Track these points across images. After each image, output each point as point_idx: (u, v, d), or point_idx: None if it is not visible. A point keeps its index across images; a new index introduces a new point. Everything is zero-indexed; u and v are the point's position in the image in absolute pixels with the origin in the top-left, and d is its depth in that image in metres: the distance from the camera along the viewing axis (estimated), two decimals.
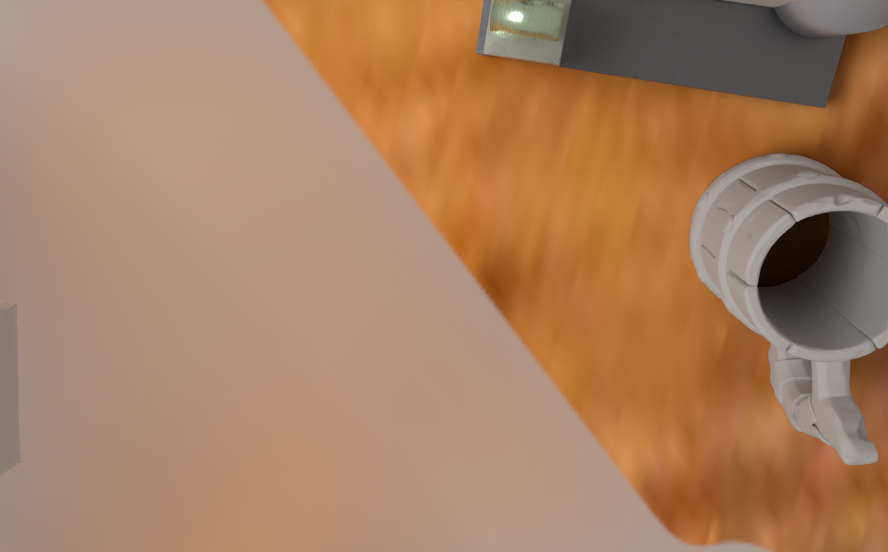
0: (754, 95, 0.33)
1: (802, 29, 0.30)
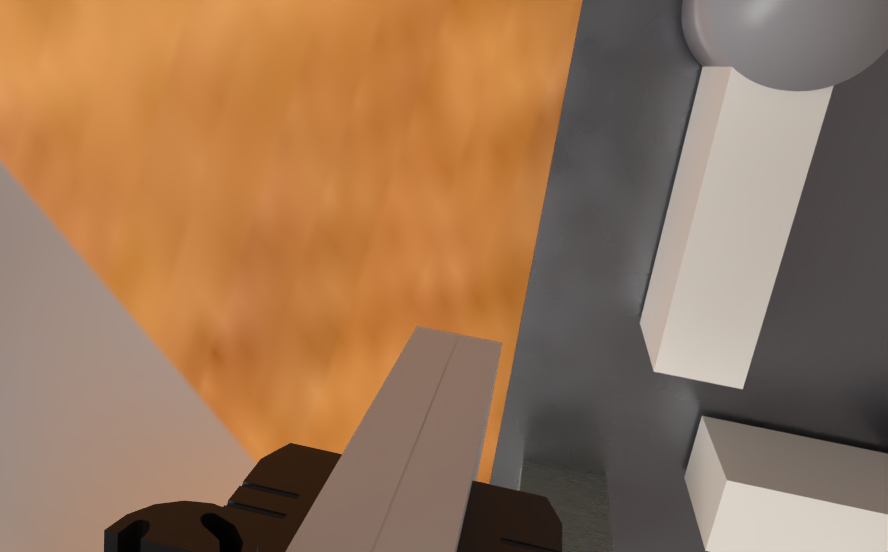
0: None
1: None
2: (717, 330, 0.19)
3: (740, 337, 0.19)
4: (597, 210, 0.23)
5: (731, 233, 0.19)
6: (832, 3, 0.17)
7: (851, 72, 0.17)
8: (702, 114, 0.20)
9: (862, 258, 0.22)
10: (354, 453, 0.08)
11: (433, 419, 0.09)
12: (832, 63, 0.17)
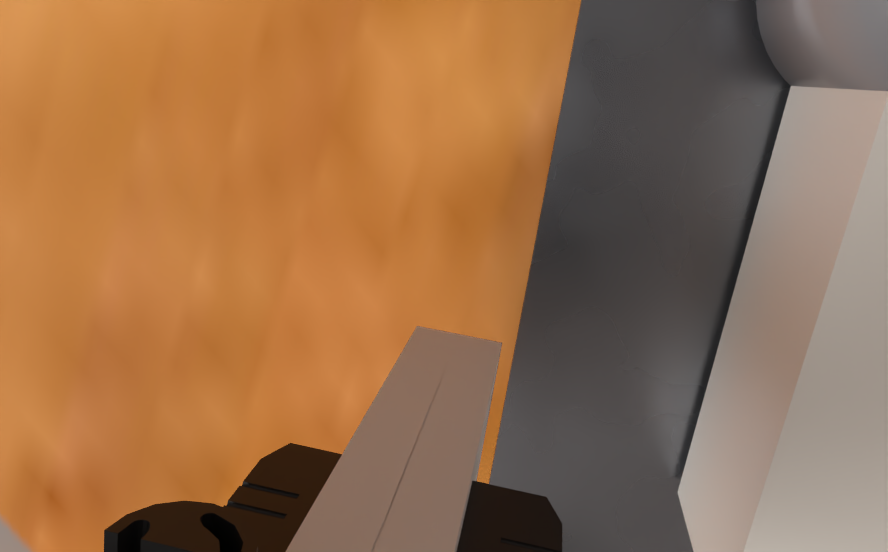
0: None
1: None
2: None
3: None
4: (610, 316, 0.14)
5: (872, 407, 0.10)
6: None
7: None
8: (801, 172, 0.11)
9: None
10: (354, 453, 0.08)
11: (433, 419, 0.09)
12: None
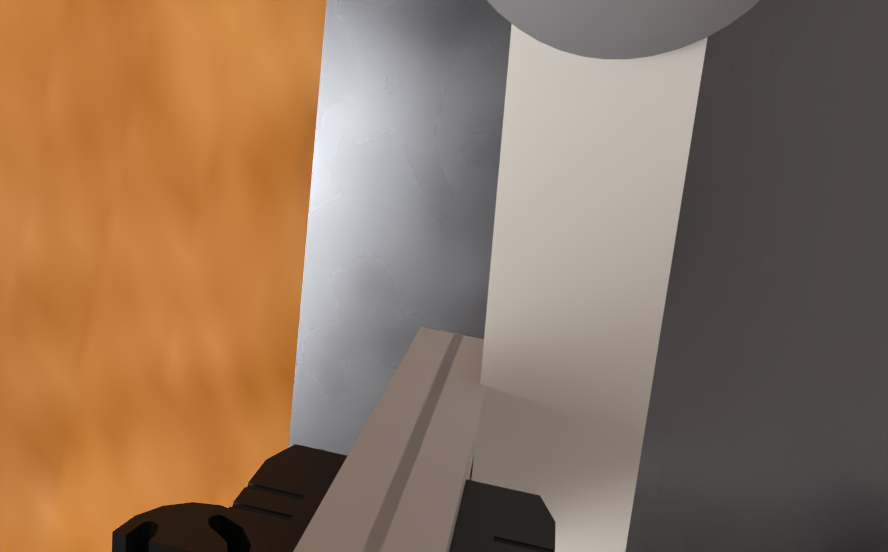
0: None
1: None
2: (559, 497, 0.11)
3: (601, 508, 0.11)
4: (385, 263, 0.15)
5: (558, 330, 0.10)
6: None
7: (732, 11, 0.08)
8: None
9: (798, 340, 0.14)
10: (360, 454, 0.08)
11: (427, 418, 0.09)
12: None
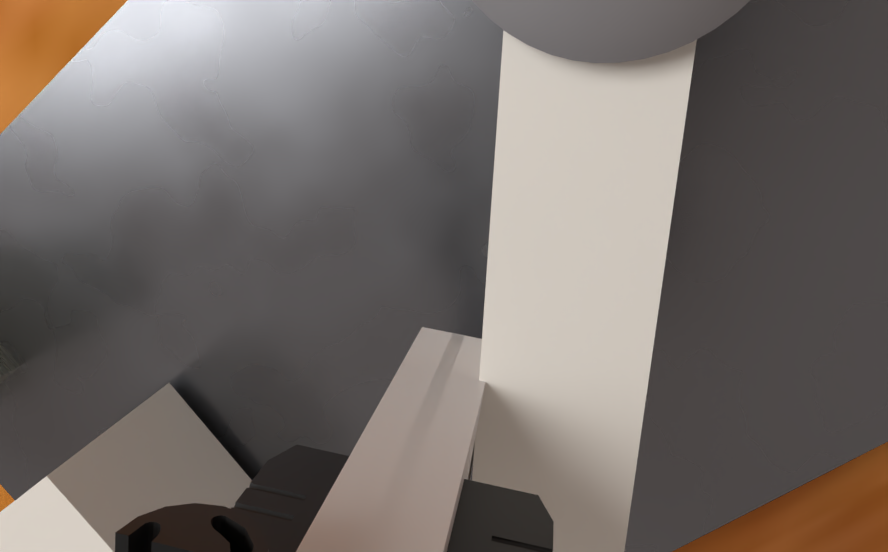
0: None
1: None
2: (558, 495, 0.11)
3: (600, 505, 0.11)
4: (224, 31, 0.14)
5: (555, 330, 0.10)
6: None
7: (720, 14, 0.08)
8: None
9: None
10: (361, 455, 0.08)
11: (425, 417, 0.09)
12: (680, 0, 0.09)
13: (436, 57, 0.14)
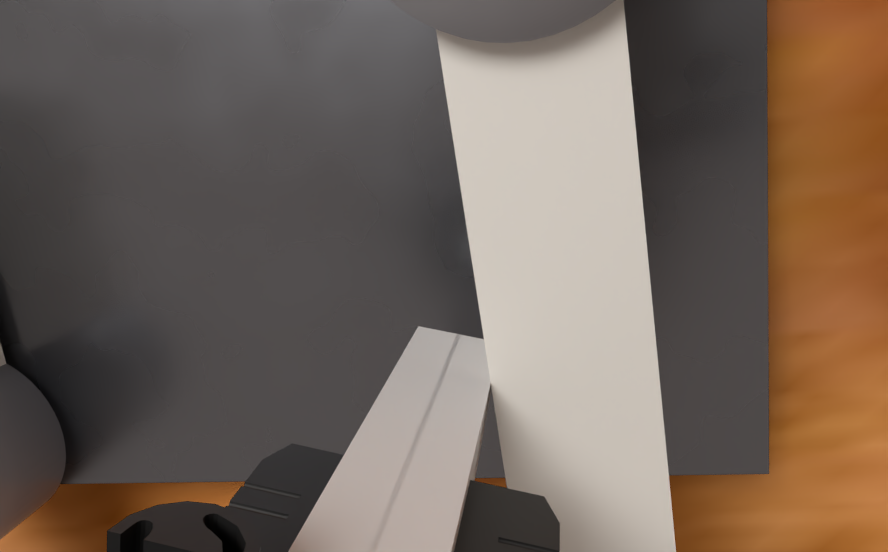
0: None
1: None
2: (594, 475, 0.11)
3: (638, 477, 0.11)
4: None
5: (552, 310, 0.10)
6: None
7: None
8: None
9: (232, 224, 0.15)
10: (356, 453, 0.08)
11: (430, 419, 0.09)
12: None
13: None
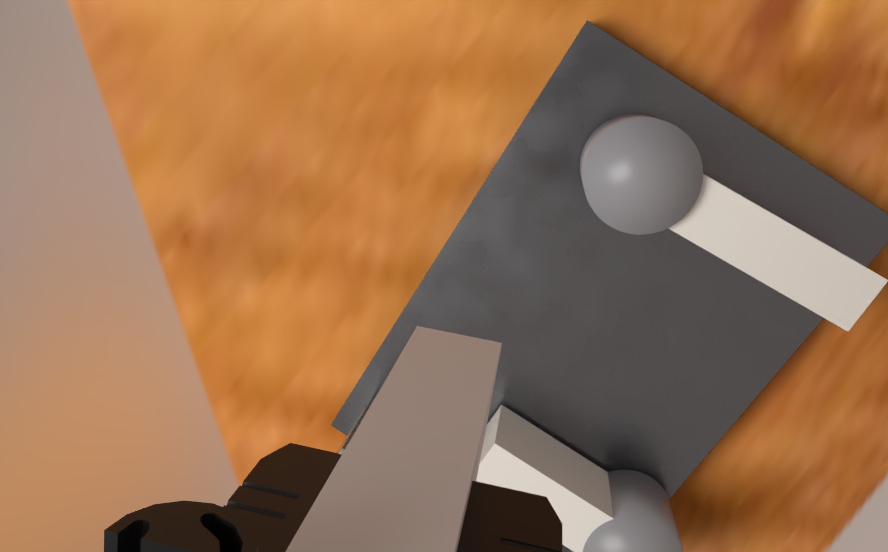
0: None
1: None
2: (835, 283, 0.28)
3: (848, 271, 0.28)
4: (486, 247, 0.34)
5: (771, 255, 0.28)
6: (654, 168, 0.27)
7: (699, 166, 0.27)
8: None
9: (634, 342, 0.34)
10: (354, 453, 0.08)
11: (433, 419, 0.09)
12: (689, 175, 0.27)
13: (578, 229, 0.33)
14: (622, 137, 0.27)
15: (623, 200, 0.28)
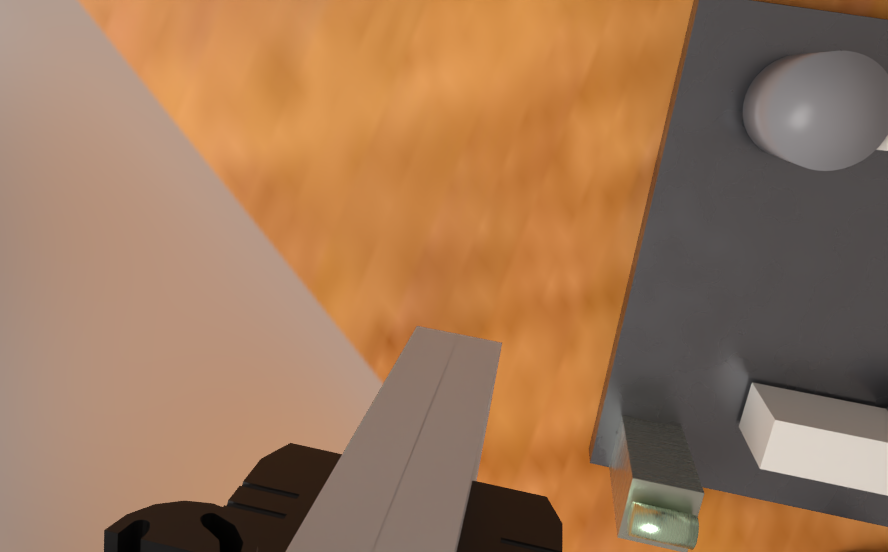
0: (848, 517, 0.36)
1: None
2: None
3: None
4: (681, 240, 0.34)
5: None
6: (841, 98, 0.27)
7: (886, 79, 0.27)
8: None
9: (863, 273, 0.33)
10: (354, 453, 0.08)
11: (433, 419, 0.09)
12: (879, 91, 0.27)
13: (765, 187, 0.33)
14: (797, 83, 0.27)
15: (821, 140, 0.28)
